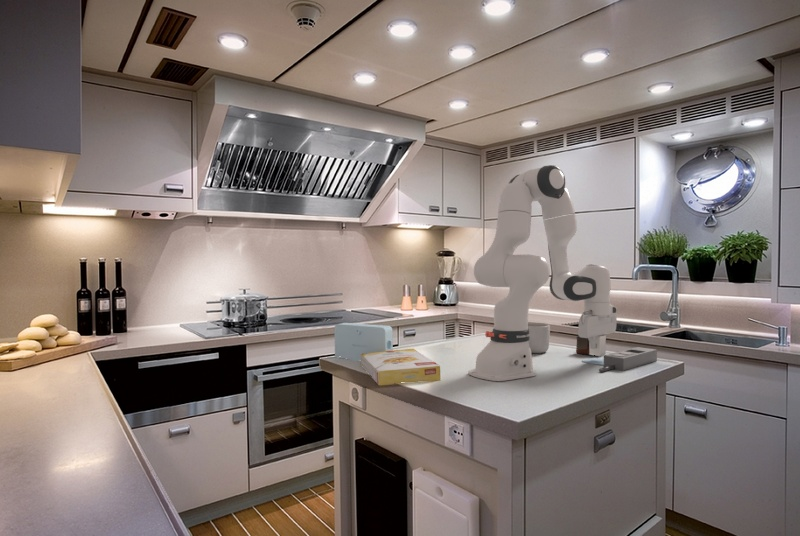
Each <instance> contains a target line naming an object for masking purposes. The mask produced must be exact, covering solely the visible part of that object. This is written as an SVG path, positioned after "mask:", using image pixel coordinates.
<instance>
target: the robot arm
mask: <svg viewBox="0 0 800 536" xmlns="http://www.w3.org/2000/svg"><path fill="white" fill-rule="evenodd" d="M533 202H537V203H538V204H539V205H540V207H541V215H542V219H543V225H544V230H545V235H546V240H547V248H548V255H549V257H548V258H549V262H548V261H547V260H546V258H544V257H543V256H539V255H533V254H514V252H515V251H516V249H517V248H518V247H520V246H521V245H523V244H525V243H526V242H527V241H528V239H529V238H530V235H531V227H532V223H531V222H532V203H533ZM496 221H497V222H496V231H495V234H494V238H493V241H492V243H491V245H490V247H489V248H488V250H487V251H486V252H485V253H484V254H483V255H482V256H480V257H479V258H477V260H476V262H475V263H474V265H473V275H474V278H475V281H477V283H478V284H479V285H483V286H486V287H490V288H509V292H508V295H507V296H506V297H504V298H502V299H500V300H499V301H498V302H496V304H495V305H494V307H493V328H492V331H489V330H486V331H485V332H484V336H485V338H489V340H490V341H489V342H488V343H487V345H486V346H485V347H484V348H483V349H482V350H481V351H480V352H479V353H478V354H477V356H476V358H475V359H476V360H475V368H473V369H470V370H468V375H469V376H470V377H475V378H478V379H482V380H486V381H494V382H504V381H511V380H512V381H513V380H518V379H523V378H531V377H536V374H537V373H536V371H534V367H533V366H534V365H533V364H534V363H533V355H532V354H533V353H531V349H530V347H529V343H528V341H529V336H530V333H529V329H528V323H529V310H530V303H531V301H532V299H533V297H534V295H535V293H536V292H537V291H538V290H539V289H541V288H542V287H543V286H544V285H546V284H547V282H548V280H549V278H550V280H549V291H550V293H551V295H552V296H553V297H554V298H556V299H557V300H562V301H564V300H565V301H572V302H579V301H582V300H583V303H584V304H583V305H584V306H583V309H584V311H583V312H582V314H581V315H580V317H579V319H578V331H577V334H578V335H577V336H579V337H582V338H588V340H589V342H590V348H591V349H596V348H597V344H596V343H595V339H596V336H600V335H606V338H607V335H608V334H613V333H615V332H616V331H617V313H618V308H617V307H616V306H614V305H613V304H611V302H612V301H611V300H612V299H611V296H610V293H611V276H610V270H609V269H608V267H606V266H604V265H600V264H598V265H597V264H587V265H586V266H585V267H583V268H581V269H580V270H578V271H576V272H574V273H571V271H570V269H569V268H570V267H569V260H568V254H567V249H568V245H569V243H570V241H571V240H572V239H573V237H575V235H576V233H577V231H578V230H577V229H578V228H577V224H578V223H577V216H576V213H575V208H574V204H573V201H572V197H571V196H570V194H569V191H568V189H567V188H566V177H565V174H564V172H563V170H561V169H560V167H559V166H557V165H543V166H542V167H537V168H532V169H529V170H527V171H525V172H522V173H521V174H517V175H515V176H514V177H512V178H511V179H510V180H509V182H508V183H507V184H506V185H505V186H504V187H503V188H502V191H501V194H500V199H499V203H498V211H497V220H496ZM549 263H550V265H549ZM550 274H551V275H550Z"/></svg>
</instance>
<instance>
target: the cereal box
mask: <svg viewBox="0 0 800 536" xmlns="http://www.w3.org/2000/svg"><path fill="white" fill-rule="evenodd" d="M360 365H361V367H362V366H363V367H362V369H363V368H364V369H365V370H366V371H367V372H368V373H369V374H370V375H371V376H372V377H371V376H370V375H369V374H368V373H367V372H366V371H365V370H364V371H365V372H366V373H367V374H368V375H369V376H370V377H371V378H372V379H373V381H374V382H376V384H377V385H378V386H389V385H390V386H391V385H395V384H394V383H401V382H415V383H419V382H418V381H427V382H435V381H441V365H440V364H438V363H436V362H435V361H433V360H432V359H430V358H428V357H427V356H425V355H424V354H422V352H420V351H418V350H417V349H415V348H407V349H405V348H404V349H396V350H394V349H393V351H383V352H372V353H362V354H361V361H360Z"/></svg>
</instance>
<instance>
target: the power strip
mask: <svg viewBox="0 0 800 536" xmlns="http://www.w3.org/2000/svg"><path fill="white" fill-rule="evenodd" d="M603 359H604V365H603V367H602V368H599V369H598V371H599V373H604V372H607V371H612V370H619V371H627V370H630V369H632V368H636V367H639V366H644V365H646V364H651V363H653V362H657V360H658V349H657V348H656V349H654V348H647V347H639V346H636V347H632V348H628V349H624V350H620V351H617V352H612V353H607V354H606V355H603Z"/></svg>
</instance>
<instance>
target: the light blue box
mask: <svg viewBox="0 0 800 536" xmlns="http://www.w3.org/2000/svg"><path fill="white" fill-rule="evenodd" d="M333 329H334V356H335V358H336V357H339V356H341V357H339V358H347V359H351V360H350V361H356V360H361V354H362V353H372V352H383V351H394V349H393V345H394V343H393V342H394V341H393V340H394V339H393V337H394V336H393V335H394V333H393V327H391V326H390V325H385V324H383V325H382V324H367V323H354V322H342V323H337V324H335V326H334V328H333ZM339 358H338V359H339ZM347 359H346V360H347Z"/></svg>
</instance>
